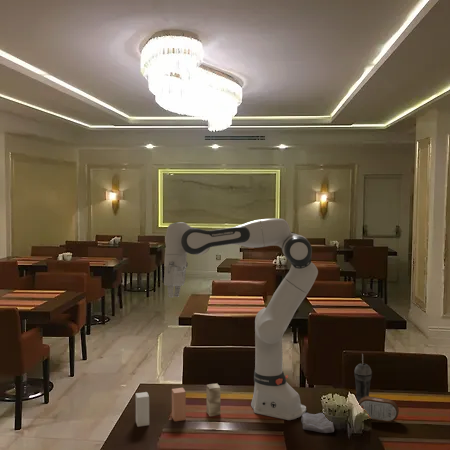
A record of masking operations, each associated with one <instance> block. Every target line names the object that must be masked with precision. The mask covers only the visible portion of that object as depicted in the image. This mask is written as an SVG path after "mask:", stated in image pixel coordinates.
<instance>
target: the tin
mask: <svg viewBox="0 0 450 450" xmlns="http://www.w3.org/2000/svg"><path fill="white" fill-rule="evenodd" d="M357 402H358V403H359V405H360V406H361V407H362V408H363V409H365V410H366V411H367V413H368V414H369V416H370V417H371V419H372V421H378V422H385V423H392V422H394V421H395V420H396V419H397V418H398V416H399V412H400V411H399V410H400V409H399V407H398V404H397V403H396V402H395V401H394V400H392V399H390V398H382V397H375V396H371V395H369V396H366V397H363V398H361V399H360V400H359V401H357ZM358 403H357V404H358ZM371 419H370V420H371Z"/></svg>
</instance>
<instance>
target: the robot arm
mask: <svg viewBox="0 0 450 450" xmlns="http://www.w3.org/2000/svg"><path fill="white" fill-rule="evenodd" d="M228 245H237V246H242V247H244V248H265V247H270V246H275V247H276V246H277V247H279V248H280V250H281V252H282V253H283V256H284V258H285V259H286V260H288V262H289V264H291V265H290V268H289V271H288V272H287V273H286V275H285V276H284V277H283V279H282V280H281V282H280V284H279V285H278V287H277V288H276V290H274V291H275V292H273V294H272V297H271V298H270V301H269V302H268V304H267V306H266V307H263V308H261V309H260V310H259V311H257V313H256V315H255V319H254V332H255V333H254V341H255V342H254V345H255V348H254V349H255V352H254V353H255V355H254V356H255V357H254V359H255V361H254V363H255V365H254V366H255V367H254V370H253V382H254V388H253V396H252V399H251V403H250V406H251V408H252V409H253V412H254V413H255V414H258V415H262V416H266V417H272V418H276V419H281V420H287V421H291V420H297V418H298V419H299V418H300V417H302V415H303V414H304V413H307V406H306V405H304V404H302V403H301V398H300V397H301V396H300V394H299V393H298V392H297V391H296V390H295V389H294V388H293V387H292V385H290V384H289V383H288V382H287V379H288V378H289V374H287V375H285V373H284V371H283V365H284V364H283V361H284V359H283V355H284V354H283V353H284V352H283V351H284V350H283V336H284V333H285V332H286V330H287V328H288V327H289V324H291V321H292V320H293V317H294V316H295V313H296V311H297V310H298V308H299V307H300V305H301V304H302V302H303V301H304V299H305V298H306V297H307V295H308V294H309V292H310V290H311V289H312V287H313V285H314V283H315V281H316V279H317V277H318V275H319V270H318V268H317V266H316V265H315V263H314V262H312V255H313V254H312V253H313V248H312V244H311V243H310V241H309V240H308V238H307V237H305V236H304V235H301V234H298V233H295V232H293V231H291V228H290V225H289V223H288V221H287V220H286V219H284V218H277V217H275V218H274V217H273V218H262V219H255V220H251V221H247V222H244V223H241V224H239V225H236V226H233V227H227V228H220V229H219V228H218V229H214V230H212V229H211V230H205V229H201V228H199V227H196V228H195V227H192V226H190V225H189V224H188V223H187V222H183V221H178V222H173V223H170V224H169V225H167V228H166V233H165V251H164V265H163V266H164V267H165V268H164V274H163V276H164V277H163V285H164V286H167V293H168V295H167V296H168V298H179V297H180V293H181V288H182V287H181V286H184V285H185V282H186V281H185V280H186V275H187V269H186V268H188V265H189V264H188V261H187V259H188V258H187V257H188V254H190V255H195V256H202V255H205V254H206V253H207V252H208V251H209V250H210V248H212V247H221V246H222V247H223V246H228Z"/></svg>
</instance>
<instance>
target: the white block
mask: <svg viewBox="0 0 450 450" xmlns="http://www.w3.org/2000/svg"><path fill="white" fill-rule="evenodd" d="M135 424H136V426H137V427H138V428H139V427H145V426H150V396H149V393H148V392H147V391H145V392H144V391H143V392H136V393H135Z"/></svg>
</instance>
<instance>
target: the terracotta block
mask: <svg viewBox="0 0 450 450" xmlns="http://www.w3.org/2000/svg"><path fill="white" fill-rule="evenodd" d="M186 393H187V392H186V390H185V388H184V387H176V388H171V417H172V419H173V422H180V421H185V420H186V419H187V418H186V417H187V416H186V415H187V414H186V413H187V412H186V410H187V408H186V407H187V406H186V403H187V399H186V395H187V394H186Z"/></svg>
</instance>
